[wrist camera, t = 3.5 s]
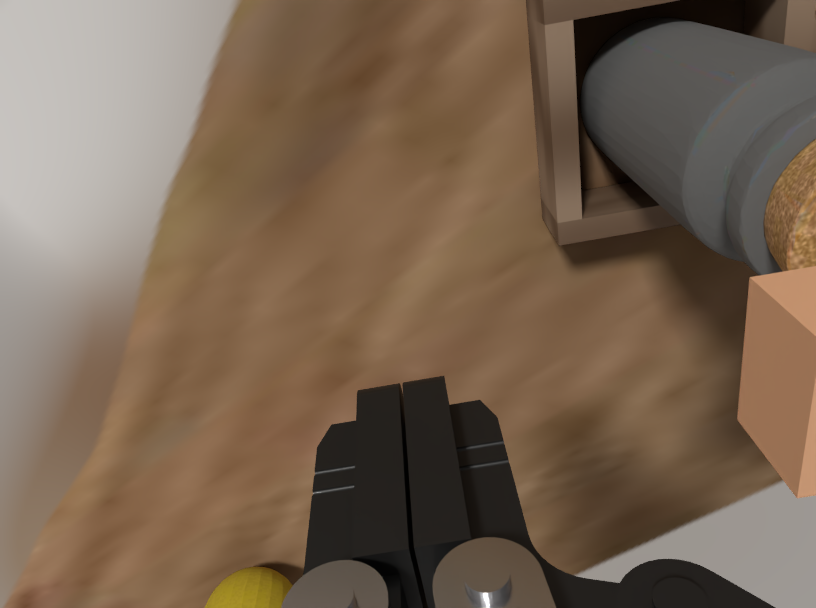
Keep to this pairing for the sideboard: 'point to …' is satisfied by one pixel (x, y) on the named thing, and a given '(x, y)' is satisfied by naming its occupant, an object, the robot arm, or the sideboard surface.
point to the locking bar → (782, 374)
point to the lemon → (251, 589)
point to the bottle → (713, 134)
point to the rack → (558, 120)
